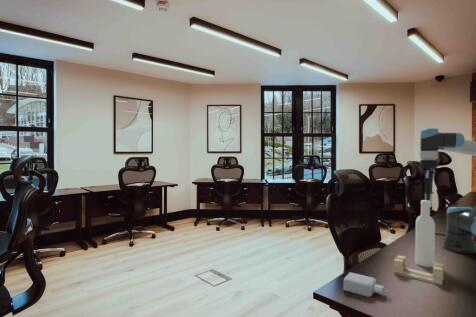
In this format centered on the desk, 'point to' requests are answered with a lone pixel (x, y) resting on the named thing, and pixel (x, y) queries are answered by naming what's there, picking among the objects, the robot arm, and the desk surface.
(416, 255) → the bottle
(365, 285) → the white flat bottle
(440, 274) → the bottle rest
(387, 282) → the desk surface
